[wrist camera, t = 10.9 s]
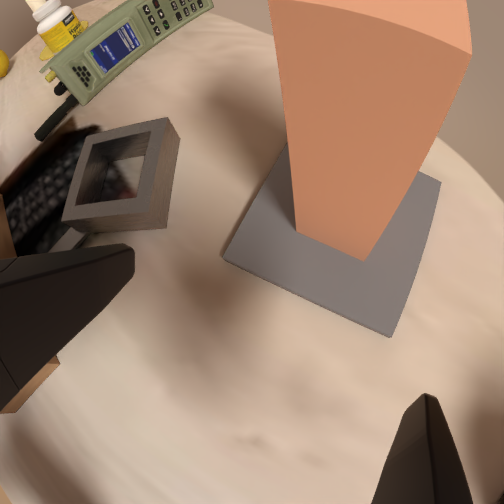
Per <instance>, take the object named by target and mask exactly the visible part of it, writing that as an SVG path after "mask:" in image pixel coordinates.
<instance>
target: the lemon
mask: <svg viewBox="0 0 504 504" xmlns="http://www.w3.org/2000/svg"><path fill="white" fill-rule="evenodd" d="M8 67H9V59H8V57H7V55H6V54H5V52H3V51H2V50H0V77H4V76H6V74H7V69H8Z"/></svg>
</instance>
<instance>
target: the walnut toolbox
mask: <svg viewBox="0 0 504 504" xmlns="http://www.w3.org/2000/svg"><path fill="white" fill-rule="evenodd" d="M14 257H17V255H16V251H15V248H14V244H13V241H12V237H11V233H10V229H9V225H8V221H7V216H6V212H5V207H4V202H3V197H2V195H1V194H0V259H7V258H14ZM59 365H60V363H59V361H58V359H57V357H56V355H55V356H54V357H53V358H52V359H51V360H50V361H49V362H48V363H47V364H46V365H45V366H44V367H43V368H42V369H41V370H40V371H39V372H38V373H37V374H36V375H35V376H34V377H33V378H32V379H31V380H30V381H29V382H28V383H27V384H26V385H25V386H24V387H23V388H22V389H21V390H20V392H19V393H18V394H17V395H16V396H15V397H14V398H13V399H12V400H11V401H10V402H9V403H8V404H7V405H6V407H5V408H4V409H3V410H2V411H1V412H0V414H2V413H15V412H16V411H17V410H18V409H19V408H20V407H21V406H22V405H23V403H24V402H25V401H26V400H27V399H28V398H29V397H30V396H31V395H32V394H33V392H34V391H35V390H36V389H37V388H38V387H39V386H40V385H41V384H42V383H43V382H44V380H45V379H46V378H47V377H48V376H49V375H50V374H51V373H52V372H53V371H54V370H55V369H56V368H57V367H58V366H59Z"/></svg>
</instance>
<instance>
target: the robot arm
mask: <svg viewBox="0 0 504 504" xmlns="http://www.w3.org/2000/svg"><path fill="white" fill-rule="evenodd" d="M134 272H135V252H134V249H133V248H131V247H129V246H128V245H126V244H123V243H122V244H113V245H105V246H97V247H89V248H81V249H73V250H65V251H58V252H50V253H43V254H36V255H28V256H21V257H14V258H7V259H0V412H1V411H2V410H3V409H4V408H5V407H6V405H7V404H8V403H9V402H10V401H11V400H12V399H13V398H14V397H15V396H16V395H17V394H18V393H19V392H20V390H21V389H22V388H23V387H24V386H25V385H26V384H27V383H28V382H29V381H30V380H31V379H32V378H33V377H34V376H35V375H36V374H37V373H38V372H39V371H40V370H41V369H42V368H43V367H44V366H45V365H46V364H47V363H48V362H49V361H50V360H51V359H52V358H53V357H54V356H55V355H56V354H57V353H58V352H59V351H60V350H61V349H62V348H63V347H64V346H65V345H66V344H67V343H68V342H70V341H71V340H72V339H73V338H74V337H75V336H76V335H77V334H78V333H79V332H80V331H81V330H82V329H83V328H84V327H85V326H86V325H87V324H89V323H90V322H91V321H92V320H93V319H94V318H95V317H96V316H97V315H98V314H99V313H100V312H101V311H102V310H103V309H104V308H105V307H106V306H107V305H108V304H109V303H110V302H111V300H112V299H113V298H114V297H115V296H116V295H117V294H118V293H119V292H120V290H121V289H122V288H123V287H124V286H125V285H126V284H127V283H128V282H129V281H130V279H131V278H132V277H133V275H134ZM371 504H473V501H472V497H471V493H470V490H469V486H468V483H467V480H466V476H465V473H464V470H463V467H462V464H461V461H460V458H459V455H458V452H457V449H456V446H455V443H454V440H453V437H452V435H451V432H450V429H449V427H448V424H447V421H446V419H445V416H444V414H443V411H442V409H441V406H440V404H439V401H438V399H437V398H436V397H435V396H432V395H430V394H427V393H424V394H422V395H421V396H420V397H419V398H418V399H417V400H416V401H415V402H414V403H413V404H411V405H410V406H409V407H408V408H407V410H406V411H405V412H404V414H403V417H402V419H401V422H400V425H399V428H398V431H397V433H396V436H395V439H394V441H393V444H392V446H391V449H390V451H389V454H388V456H387V459H386V462H385V464H384V467H383V470H382V474H381V477H380V480H379V483H378V486H377V489H376V492H375V495H374V497H373V500H372V503H371Z"/></svg>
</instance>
